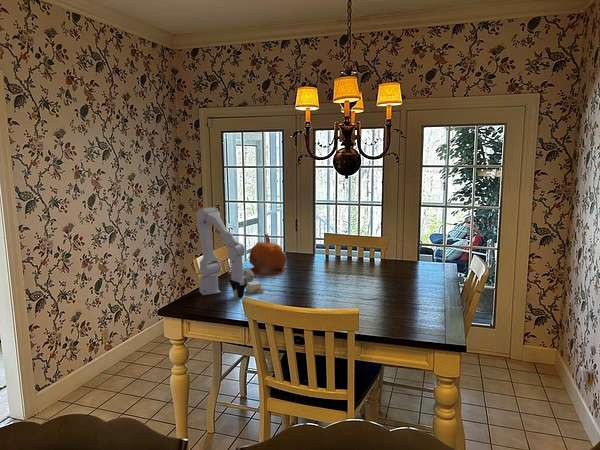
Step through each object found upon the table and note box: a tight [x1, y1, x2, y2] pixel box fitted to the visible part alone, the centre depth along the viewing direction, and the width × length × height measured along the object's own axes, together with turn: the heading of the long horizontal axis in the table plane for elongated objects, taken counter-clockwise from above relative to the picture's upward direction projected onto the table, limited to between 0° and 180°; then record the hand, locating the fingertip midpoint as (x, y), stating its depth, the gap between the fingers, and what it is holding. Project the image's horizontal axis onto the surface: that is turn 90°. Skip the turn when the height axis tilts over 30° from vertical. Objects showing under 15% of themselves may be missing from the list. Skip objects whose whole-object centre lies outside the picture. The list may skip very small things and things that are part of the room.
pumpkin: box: [248, 233, 287, 276], centre depth 270 cm, size 22×25×23 cm
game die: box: [243, 268, 256, 284], centre depth 245 cm, size 9×8×10 cm
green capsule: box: [232, 290, 243, 301], centre depth 219 cm, size 4×4×4 cm
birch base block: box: [245, 286, 264, 295], centre depth 230 cm, size 7×7×2 cm
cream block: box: [246, 280, 262, 290], centre depth 230 cm, size 6×6×2 cm
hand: (238, 295), depth 219 cm, fingers open, 7 cm apart
